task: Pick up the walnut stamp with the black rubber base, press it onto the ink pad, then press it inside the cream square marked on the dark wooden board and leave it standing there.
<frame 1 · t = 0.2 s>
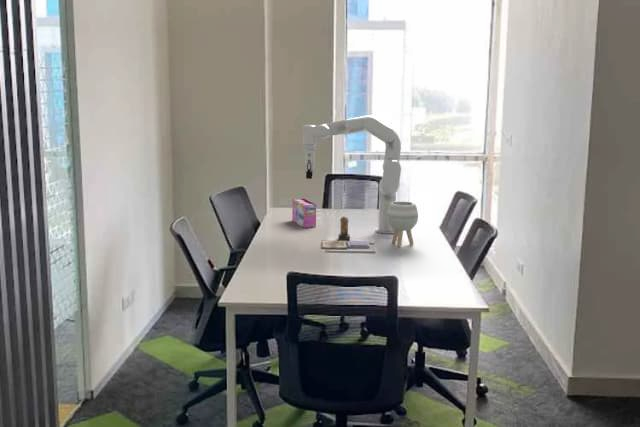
hand: (309, 177, 396), 31 cm above the table, tool pointing down, fingers open, 9 cm apart
gum box: (303, 224, 422), on the table
marked board: (334, 245, 367), on the table
planter: (401, 245, 369), on the table
ink pad: (358, 245, 367), on the table
stamp: (344, 239, 381), on the table
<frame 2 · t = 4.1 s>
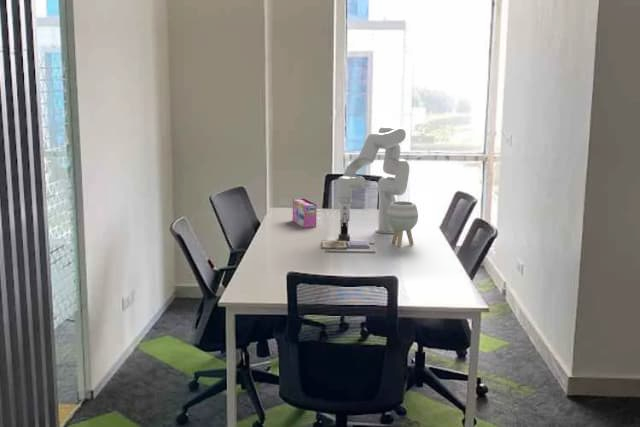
hand: (344, 232, 381), 4 cm above the table, tool pointing down, fingers closed on stamp, 4 cm apart
stamp: (343, 239, 381), on the table, touching gripper
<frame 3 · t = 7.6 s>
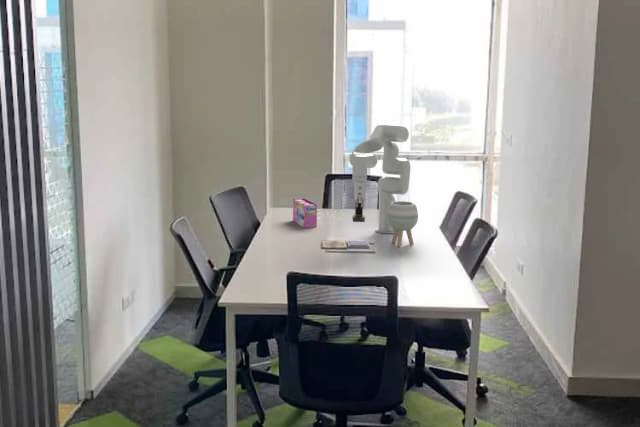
hand: (358, 213, 363), 17 cm above the table, tool pointing down, fingers closed on stamp, 4 cm apart
stamp: (358, 220, 364), point 13 cm above the table, touching gripper
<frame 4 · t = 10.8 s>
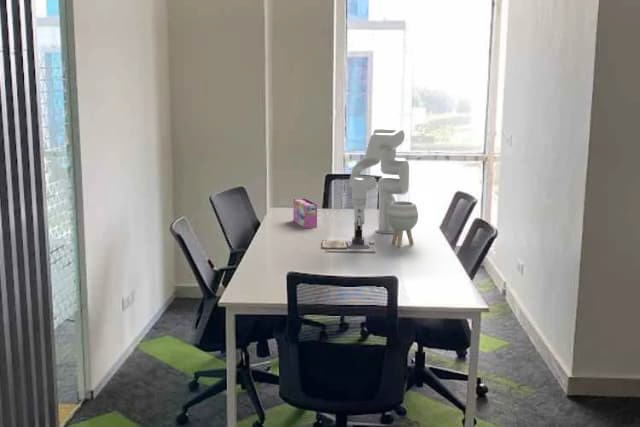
hand: (358, 235, 366), 5 cm above the table, tool pointing down, fingers closed on stamp, 4 cm apart
stamp: (358, 242, 366), point 2 cm above the table, touching gripper, ink pad
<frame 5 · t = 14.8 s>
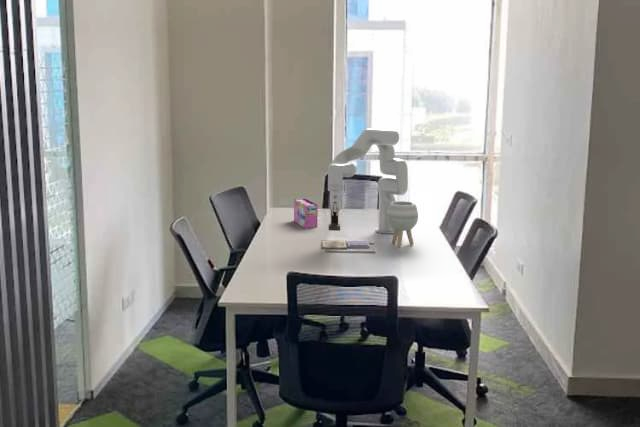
hand: (334, 222, 364), 12 cm above the table, tool pointing down, fingers closed on stamp, 4 cm apart
stamp: (334, 229, 365), point 9 cm above the table, touching gripper
when the fingers open (4 cm above the table, at t = 17.9 s): stamp stays where it is, resting on marked board.
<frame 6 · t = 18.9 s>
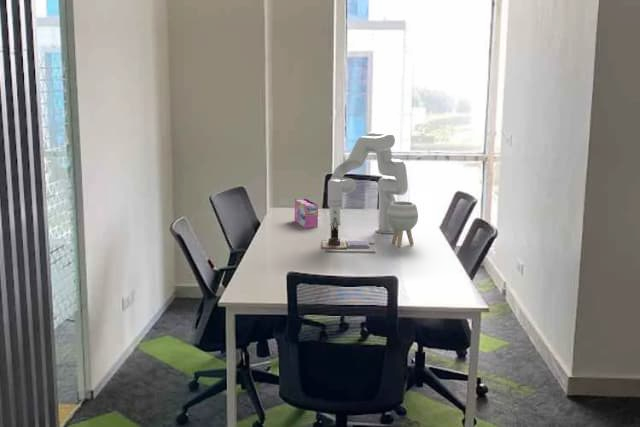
hand: (334, 235, 366), 5 cm above the table, tool pointing down, fingers open, 9 cm apart
stamp: (334, 244, 366), point 1 cm above the table, touching marked board
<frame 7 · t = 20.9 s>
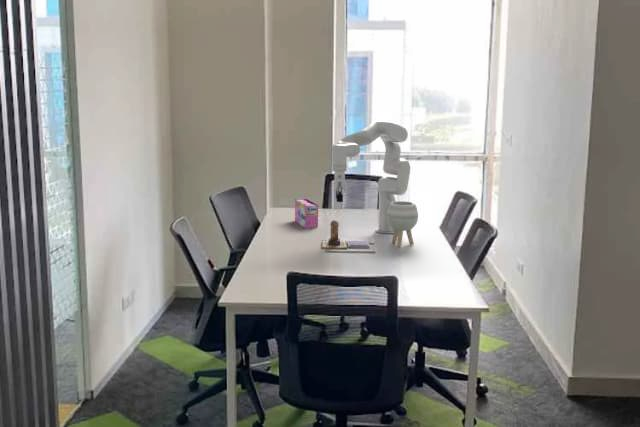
hand: (339, 200, 368), 23 cm above the table, tool pointing down, fingers open, 9 cm apart
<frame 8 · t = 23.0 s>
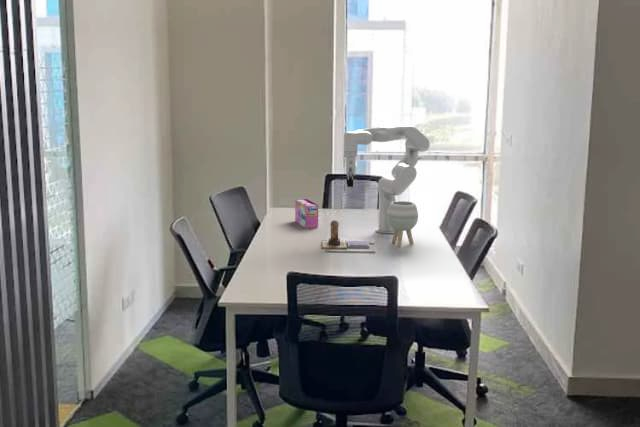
hand: (349, 185, 385), 28 cm above the table, tool pointing down, fingers open, 9 cm apart
at the end: stamp inside the target area on the marked board (0.1 cm from its centre), point 0.8 cm above the marked board's base; stamp tilted 0°; the gripper is holding nothing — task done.
